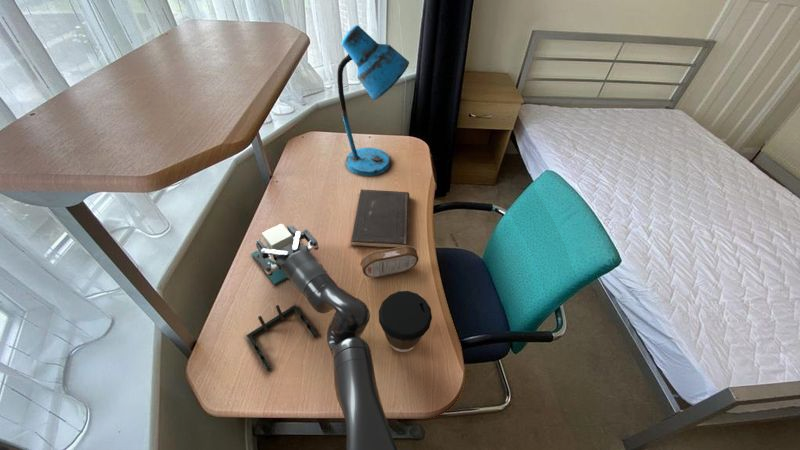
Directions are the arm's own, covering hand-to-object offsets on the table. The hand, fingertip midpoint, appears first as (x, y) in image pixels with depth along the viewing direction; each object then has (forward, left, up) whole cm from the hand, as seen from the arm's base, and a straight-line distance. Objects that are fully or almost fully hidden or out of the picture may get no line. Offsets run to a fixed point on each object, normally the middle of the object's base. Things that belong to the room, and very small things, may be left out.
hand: (274, 234), depth 84 cm
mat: (0, -2, -8) cm, 8 cm away
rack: (-11, -22, -8) cm, 26 cm away
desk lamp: (+47, +18, -8) cm, 51 cm away
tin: (+19, -24, -8) cm, 32 cm away
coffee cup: (+9, -40, -8) cm, 42 cm away
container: (0, -2, -7) cm, 7 cm away
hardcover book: (+30, -7, -8) cm, 32 cm away
